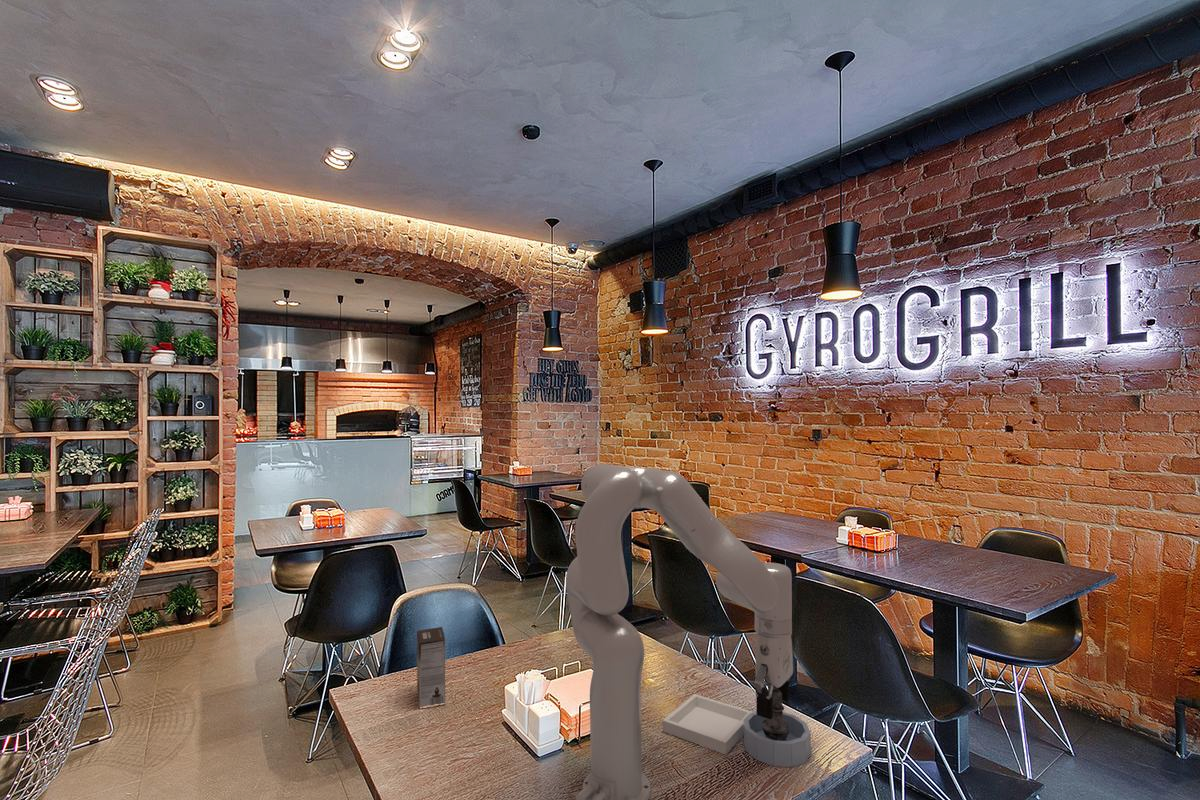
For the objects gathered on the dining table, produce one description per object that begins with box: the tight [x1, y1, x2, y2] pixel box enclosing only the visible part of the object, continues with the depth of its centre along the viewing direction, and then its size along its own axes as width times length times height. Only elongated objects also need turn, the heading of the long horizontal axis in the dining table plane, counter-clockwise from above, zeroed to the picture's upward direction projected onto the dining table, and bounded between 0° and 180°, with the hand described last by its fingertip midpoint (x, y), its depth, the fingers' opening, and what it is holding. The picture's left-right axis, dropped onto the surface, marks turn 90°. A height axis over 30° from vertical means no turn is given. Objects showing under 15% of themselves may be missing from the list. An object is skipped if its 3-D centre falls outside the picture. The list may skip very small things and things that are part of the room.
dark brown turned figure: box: [761, 686, 790, 741], centre depth 120 cm, size 6×6×12 cm
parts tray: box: [662, 693, 754, 756], centre depth 128 cm, size 15×15×2 cm
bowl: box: [743, 711, 812, 768], centre depth 120 cm, size 13×13×4 cm
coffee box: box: [416, 626, 446, 707], centre depth 143 cm, size 9×6×16 cm
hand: (773, 707), depth 120 cm, fingers open, 9 cm apart
